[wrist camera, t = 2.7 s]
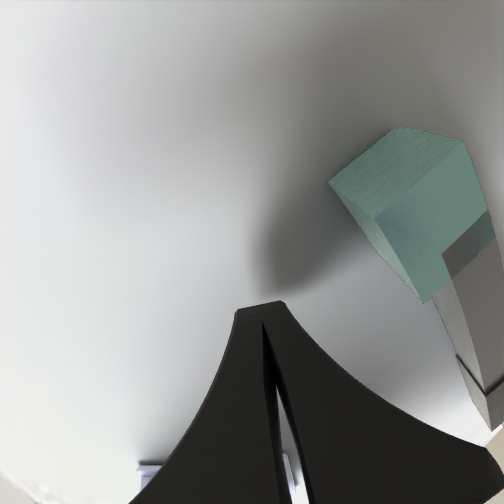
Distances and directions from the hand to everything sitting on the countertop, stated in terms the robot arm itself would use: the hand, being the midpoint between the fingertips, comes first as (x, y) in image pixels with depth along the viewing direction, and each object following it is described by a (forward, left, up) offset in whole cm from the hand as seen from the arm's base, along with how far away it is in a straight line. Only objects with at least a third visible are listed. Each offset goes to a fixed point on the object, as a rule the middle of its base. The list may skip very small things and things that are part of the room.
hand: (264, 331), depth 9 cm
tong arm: (+10, -5, -1) cm, 11 cm away
